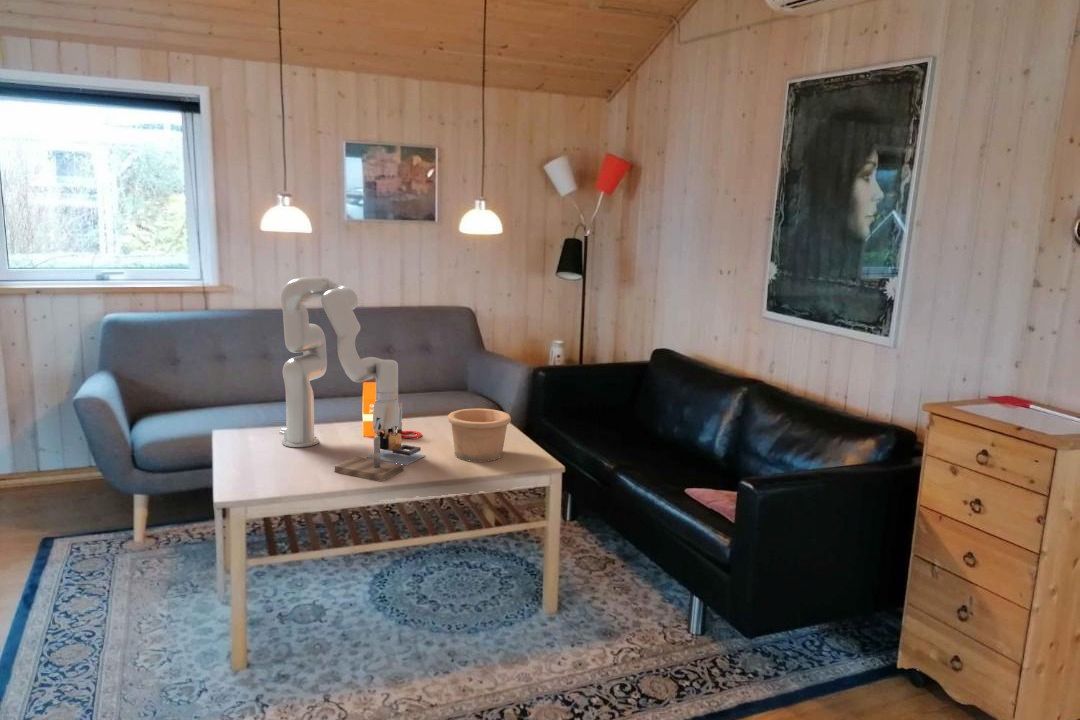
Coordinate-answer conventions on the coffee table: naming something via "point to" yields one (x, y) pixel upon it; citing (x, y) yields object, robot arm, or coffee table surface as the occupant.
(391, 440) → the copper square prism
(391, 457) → the mat
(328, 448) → the coffee table surface
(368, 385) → the orange juice
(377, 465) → the post stand
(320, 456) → the coffee table surface
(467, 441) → the pottery
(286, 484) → the coffee table surface
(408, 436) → the tow hook
